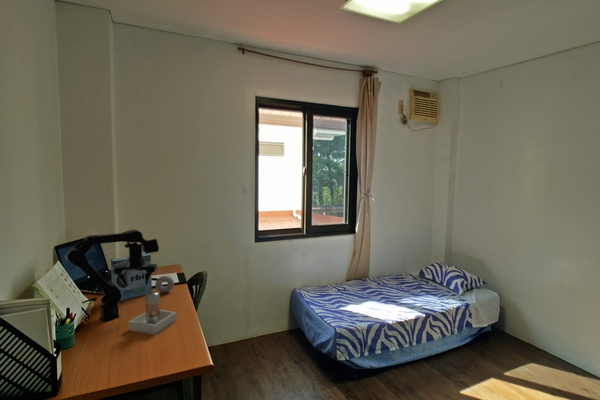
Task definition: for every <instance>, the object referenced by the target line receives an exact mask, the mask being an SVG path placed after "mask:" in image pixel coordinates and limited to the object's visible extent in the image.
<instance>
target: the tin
mask: <svg viewBox="0 0 600 400" xmlns="http://www.w3.org/2000/svg"><path fill="white" fill-rule="evenodd" d="M160 302H161V301H160V292H159V291H158V290H157V291H156V290H155V291H153V290H152V292H148V293H146V295H145V312H146V324H152V325H155V324H157V323H158V322H160V310H161V304H160Z"/></svg>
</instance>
